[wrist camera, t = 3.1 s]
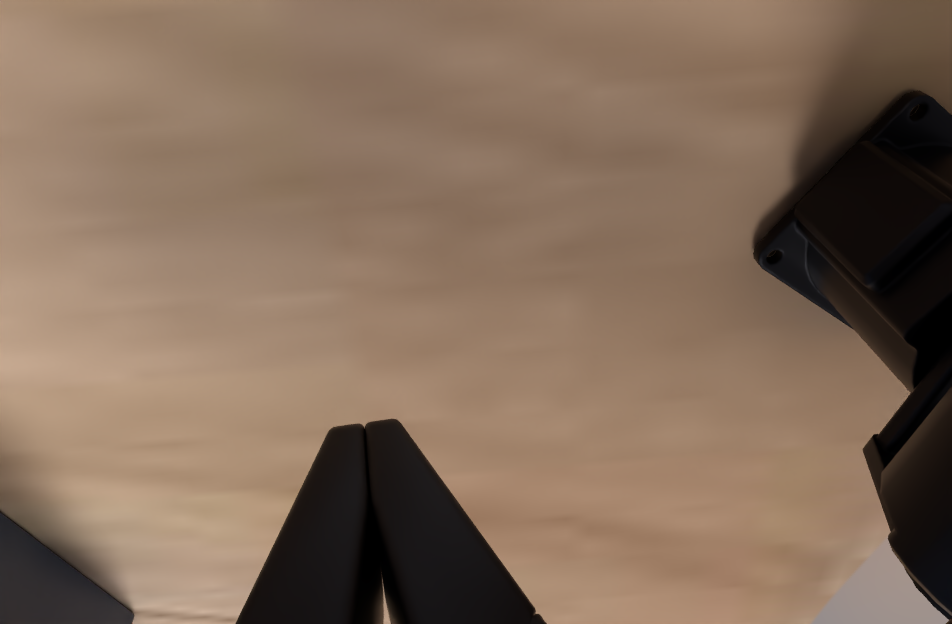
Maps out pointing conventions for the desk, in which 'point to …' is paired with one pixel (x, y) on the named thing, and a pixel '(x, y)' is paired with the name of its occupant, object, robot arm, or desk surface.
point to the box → (48, 586)
